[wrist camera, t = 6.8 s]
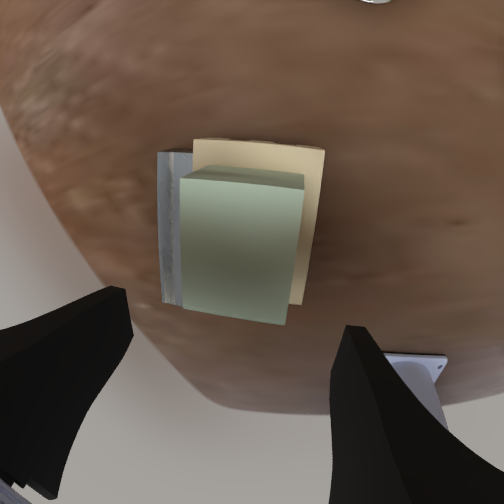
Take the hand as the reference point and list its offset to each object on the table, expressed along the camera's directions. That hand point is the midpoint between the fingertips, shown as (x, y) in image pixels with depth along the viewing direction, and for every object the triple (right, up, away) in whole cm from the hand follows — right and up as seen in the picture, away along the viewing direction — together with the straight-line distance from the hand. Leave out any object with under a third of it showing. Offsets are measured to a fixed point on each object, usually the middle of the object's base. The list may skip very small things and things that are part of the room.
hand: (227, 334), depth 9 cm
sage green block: (+1, +5, +7) cm, 8 cm away
